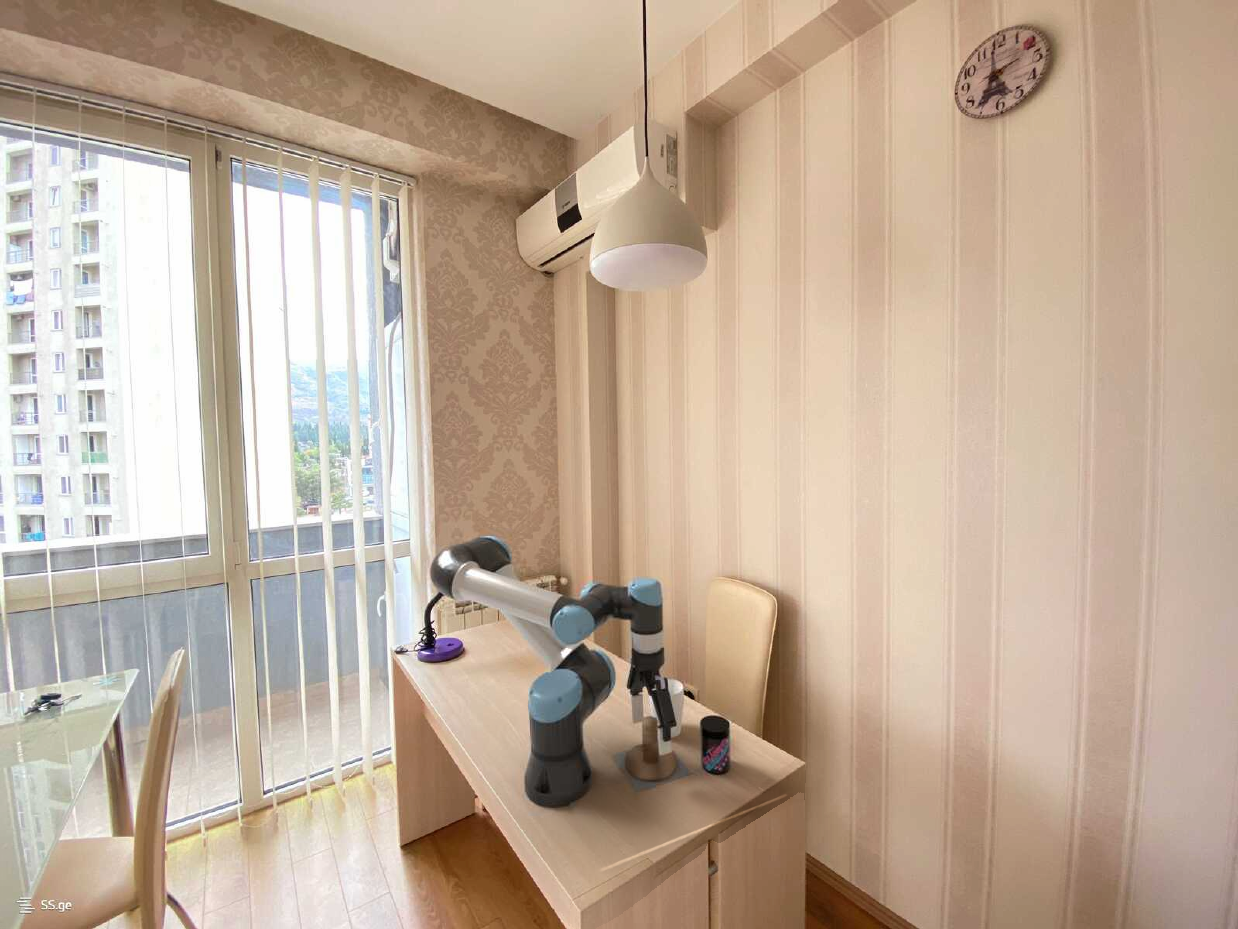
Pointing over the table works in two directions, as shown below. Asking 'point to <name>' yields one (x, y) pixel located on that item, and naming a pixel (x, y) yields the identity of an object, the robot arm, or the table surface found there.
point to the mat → (643, 785)
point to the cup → (673, 704)
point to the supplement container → (715, 744)
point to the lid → (650, 756)
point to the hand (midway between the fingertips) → (651, 736)
